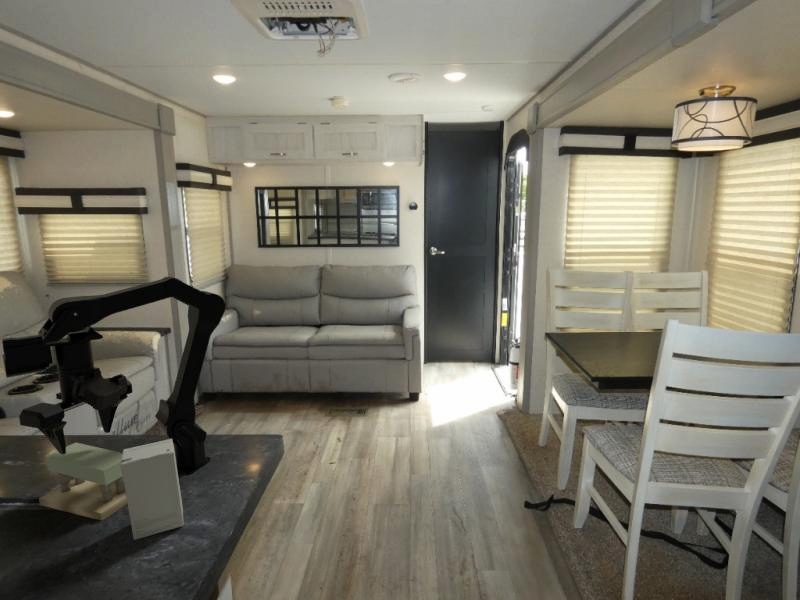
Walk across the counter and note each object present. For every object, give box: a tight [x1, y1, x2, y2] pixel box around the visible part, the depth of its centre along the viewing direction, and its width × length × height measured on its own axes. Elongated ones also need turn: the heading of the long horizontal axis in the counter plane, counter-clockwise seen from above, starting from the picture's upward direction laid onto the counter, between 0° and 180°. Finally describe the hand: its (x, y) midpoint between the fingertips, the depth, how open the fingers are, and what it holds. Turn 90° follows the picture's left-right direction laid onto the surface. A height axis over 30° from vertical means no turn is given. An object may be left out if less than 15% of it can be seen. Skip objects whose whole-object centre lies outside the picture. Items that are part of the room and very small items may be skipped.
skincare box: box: [121, 438, 185, 541], centre depth 85 cm, size 8×6×15 cm
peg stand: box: [38, 473, 128, 521], centre depth 94 cm, size 16×10×6 cm, turn 71°
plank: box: [45, 442, 123, 486], centre depth 93 cm, size 16×6×3 cm, turn 69°
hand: (86, 442), depth 93 cm, fingers open, 9 cm apart
